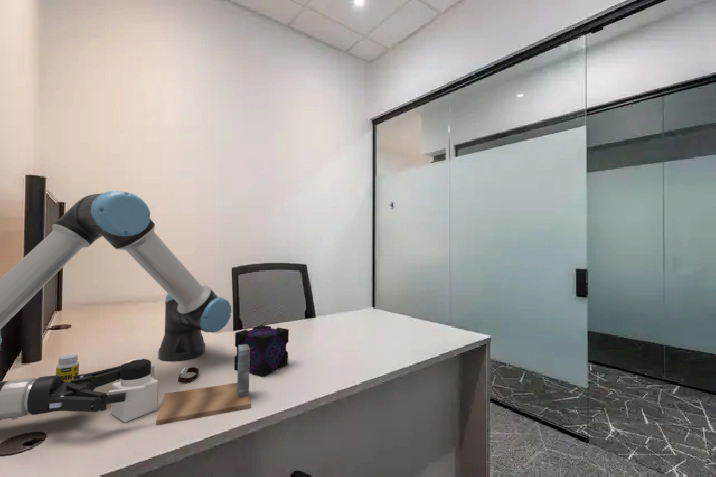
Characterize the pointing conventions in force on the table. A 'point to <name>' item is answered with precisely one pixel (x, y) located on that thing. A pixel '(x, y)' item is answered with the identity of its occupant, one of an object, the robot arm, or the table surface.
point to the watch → (185, 371)
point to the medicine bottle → (136, 376)
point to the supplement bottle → (68, 367)
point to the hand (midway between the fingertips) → (150, 380)
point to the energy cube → (264, 349)
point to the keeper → (209, 396)
